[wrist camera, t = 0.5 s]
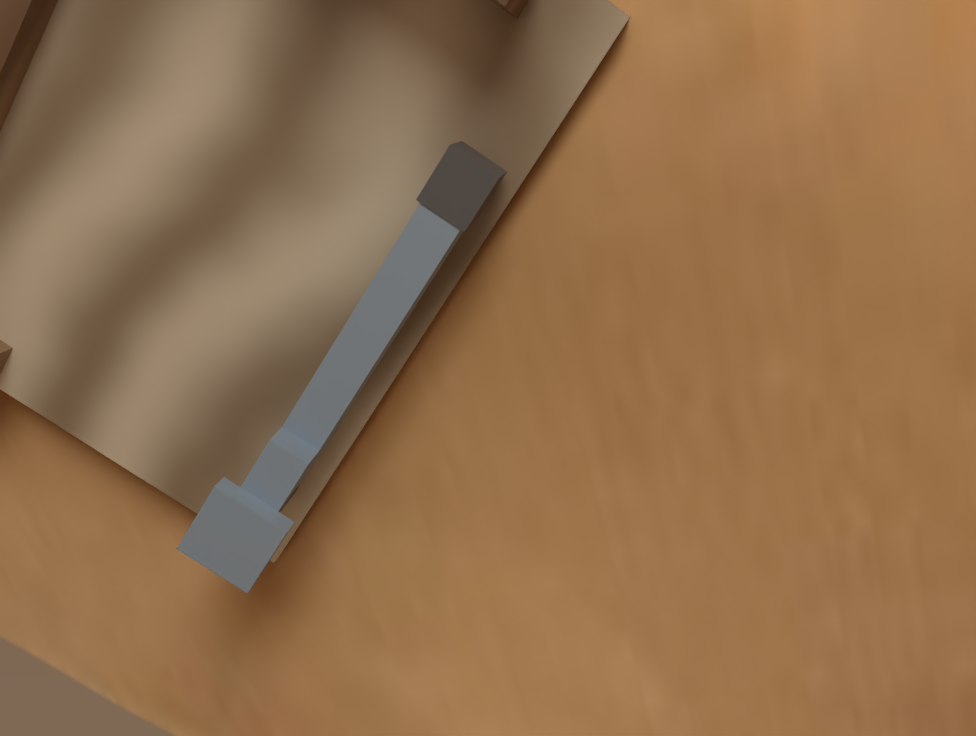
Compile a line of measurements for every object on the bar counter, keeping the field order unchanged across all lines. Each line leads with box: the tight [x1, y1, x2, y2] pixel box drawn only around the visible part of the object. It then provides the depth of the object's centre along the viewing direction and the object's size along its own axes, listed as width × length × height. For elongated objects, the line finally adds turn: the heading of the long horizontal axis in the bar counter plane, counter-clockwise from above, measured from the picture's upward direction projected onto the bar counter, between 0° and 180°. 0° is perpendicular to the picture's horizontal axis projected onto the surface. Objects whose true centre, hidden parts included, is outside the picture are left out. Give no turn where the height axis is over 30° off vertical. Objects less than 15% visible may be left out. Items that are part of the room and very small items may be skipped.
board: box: [0, 0, 630, 563], centre depth 30 cm, size 18×24×5 cm
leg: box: [177, 141, 507, 594], centre depth 30 cm, size 16×3×4 cm, turn 147°
